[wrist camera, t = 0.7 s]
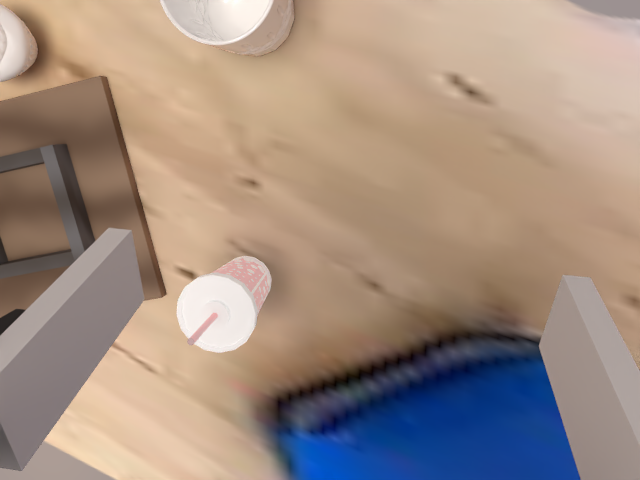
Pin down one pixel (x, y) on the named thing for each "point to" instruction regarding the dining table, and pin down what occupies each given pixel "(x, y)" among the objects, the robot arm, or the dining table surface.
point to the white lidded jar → (15, 45)
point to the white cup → (233, 23)
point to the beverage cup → (224, 304)
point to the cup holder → (64, 189)
